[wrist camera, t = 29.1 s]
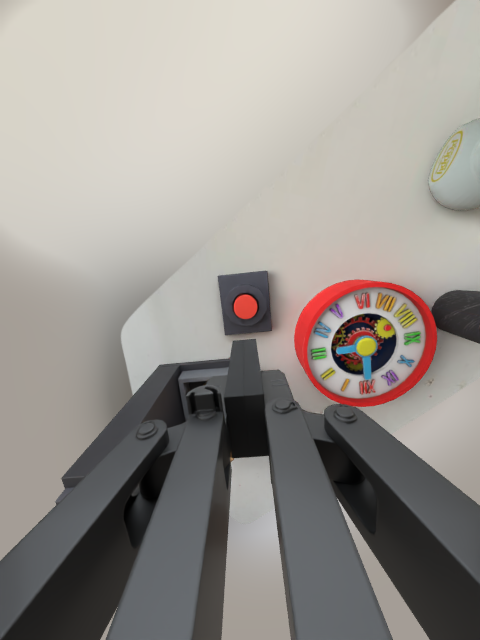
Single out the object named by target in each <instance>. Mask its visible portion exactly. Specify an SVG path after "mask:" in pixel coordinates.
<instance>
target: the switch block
mask: <svg viewBox="0 0 480 640" xmlns="http://www.w3.org/2000/svg"><path fill="white" fill-rule="evenodd" d="M218 282H219V290H220V298H221V306H222V314H223V322H224V330H225V335H232V334H243V333H253V332H264V331H272V326H271V313H270V299H269V286H268V273H267V271H258V272H249V273H240V274H230V275H221V276H218ZM244 294H247V295H251V296H252V297H253V298H254V299H255V300H256V303H257V312H256V314H255V315H254V316H253V317H251V318H249V319H242V318H240V317H238V316H237V315H236V313H235V311H234V303H235V300H236V299H237V298H238V297H239V296H241V295H244Z"/></svg>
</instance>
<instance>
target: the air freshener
mask: <svg viewBox="0 0 480 640" xmlns="http://www.w3.org/2000/svg"><path fill="white" fill-rule="evenodd" d="M428 182H429V188H430V191H431V193H432V195H433V197H434V198H435V199H436V201H438V202H439V203H440V204H441V205H443V206H445V207H446V208H449V209H453V210H471V209H475V208H479V207H480V119H476V120H473V121H471V122H469V123H466V124H464V125H463V126H461V127H460V128H458V129H457V130H456V131H455V132H454V133H453V134H452V135H451V136H450V137H449V139H448V140H447V141H446V143H445V144H444V145H443V147H442V149H441V150H440V152H439V154H438V155H437V157H436V159H435V161H434V164H433V166H432V168H431V171H430V174H429V180H428Z"/></svg>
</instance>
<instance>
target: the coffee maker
mask: <svg viewBox="0 0 480 640" xmlns="http://www.w3.org/2000/svg"><path fill="white" fill-rule="evenodd" d="M229 362H230V359H220V360H209V361H198V362H187V363H176V364H164V365H159V366H158V368H157V369H156V370H155V371H154V372H153V373H152V375H151V376H150V377H149V378H148V379H147V380H146V381H145V383H144V384H143V385H142V386H141V387H140V388H139V390H138V391H137V392H136V393H135V394H134V395H133V396H132V398H131V399H130V400H129V401H128V403H126V404H125V406H124V407H123V408H122V409H121V410H120V411H119V412H118V414H117V415H116V416H115V417H114V418H113V419H112V421H111V422H110V423H109V424H108V425H107V426H106V427H105V429H104V430H103V431H102V432H101V433H100V434H99V436H98V437H97V438H96V439H95V440H94V441H93V442H92V444H91V445H90V446H89V447H88V448H87V449H86V450H85V452H84V453H83V454H82V455H81V456H80V457H79V458H78V460H77V461H76V462H75V463H74V464H73V465H72V467H71V468H70V469H69V470H68V471H67V472H66V474H65V475H64V476H63V477H62V482H63V484H64V487H65V490H64V491H63V492H62V494H61V495H60V496H59V497H58V499H57V500H56V505H57V504H58V503H59V502H60V501H61V500H62V499H63V498H64V497H65V496H66V495H67V494H68V493H69V492H70V491H71V490H72V489H73V488H74V487H75V486H76V485H77V484H78V483H79V482H80V481H81V480H82V479H83V478H84V477H85V476H86V475H87V474H88V473H89V472H90V471H91V470H92V469H93V468H94V467H95V466H96V465H97V464H98V463H99V462H100V461H101V460H102V459H103V458H104V457H105V456H106V455H107V454H108V453H109V452H110V451H111V450H112V449H113V448H114V447H115V446H116V445H117V444H118V443H119V442H120V441H121V440H122V439H123V438H124V437H125V436H126V435H127V434H128V433H129V432H130V431H131V430H132V429H134V428H135V427H136V426H137V425H139V424H141V423H143V422H146V421H149V420H157V419H159V420H162V421H164V422H165V423H166V424H167V428H170V427H173V426H177V425H180V424H182V423H185V422H186V421H187V420H188V417H189V412H188V407H187V401H186V395H187V393H188V392H189V391H191V390H192V389H194V388H197V387H199V386H202V385H203V384H204V383H205V382H207V381H208V380H209V379H210V378H211V377H212V376H220V375H227V374H228V368H229ZM137 487H138V485H137ZM137 487H136V488H135V490H136V489H137ZM135 490H134V491H135ZM134 491H133V492H134ZM133 492H132V493H133Z"/></svg>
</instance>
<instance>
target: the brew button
mask: <svg viewBox="0 0 480 640" xmlns="http://www.w3.org/2000/svg"><path fill="white" fill-rule="evenodd" d="M234 311H235V313H236V315H237V316H238V317H240V318H242V319H249V318H251V317H253V316H254V315H255V314H256V312H257V303H256V300H255V299H254V298H253V297H252V296H251V295H247V294H244V295H241V296H239V297H238V298H237V299H236V300H235V303H234Z"/></svg>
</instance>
